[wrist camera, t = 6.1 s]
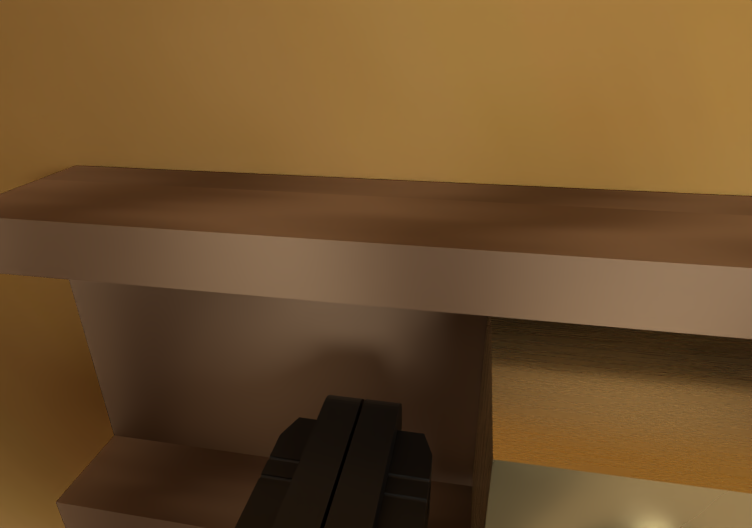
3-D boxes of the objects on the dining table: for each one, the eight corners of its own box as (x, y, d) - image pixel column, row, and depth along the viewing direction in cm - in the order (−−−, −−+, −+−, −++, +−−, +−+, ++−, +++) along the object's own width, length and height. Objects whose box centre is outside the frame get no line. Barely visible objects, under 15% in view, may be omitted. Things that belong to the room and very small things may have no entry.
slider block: (753, 301, 10) (1018, 591, 5) (683, 504, 13) (816, 839, 8) (490, 281, 11) (493, 512, 6) (472, 475, 14) (463, 758, 8)
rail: (1019, 209, 10) (1675, 454, 4) (842, 536, 14) (1075, 882, 8) (75, 165, 13) (-213, 274, 8) (145, 437, 17) (-15, 636, 12)
